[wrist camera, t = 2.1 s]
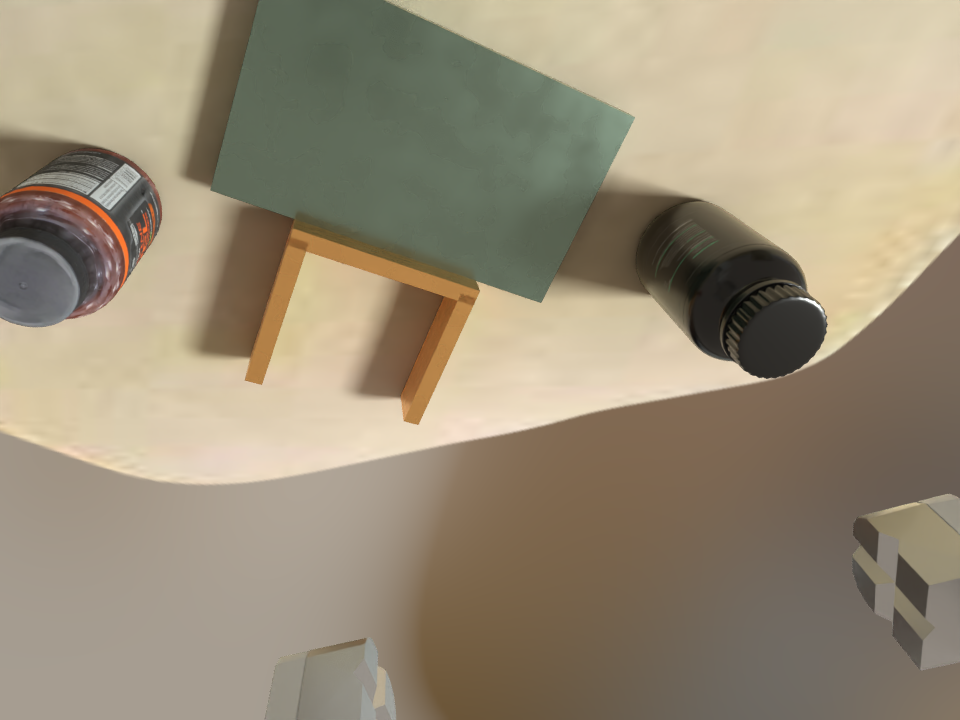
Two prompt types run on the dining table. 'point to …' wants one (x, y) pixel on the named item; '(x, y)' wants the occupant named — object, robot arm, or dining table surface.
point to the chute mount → (409, 161)
